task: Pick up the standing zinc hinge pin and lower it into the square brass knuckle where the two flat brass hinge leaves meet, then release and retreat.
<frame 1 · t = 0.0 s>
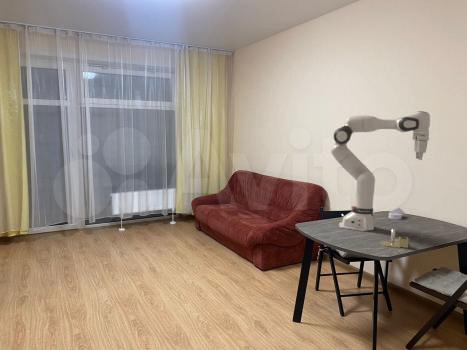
hand: (418, 159, 219), 48 cm above the table, fingers open, 8 cm apart
wedge on round base: (395, 217, 265), on the table
pin: (392, 242, 205), on the table
hinge leaves: (403, 246, 198), on the table
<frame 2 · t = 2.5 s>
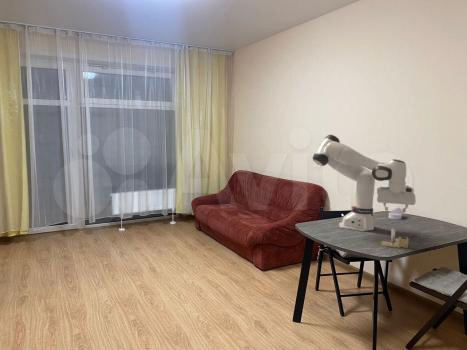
hand: (395, 211, 202), 19 cm above the table, fingers open, 8 cm apart
nothing on the table moved.
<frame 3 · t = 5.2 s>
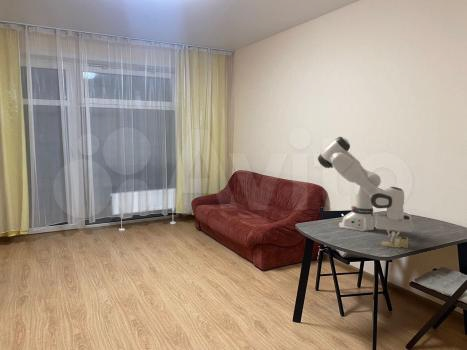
hand: (392, 237, 204), 3 cm above the table, fingers closed on pin, 2 cm apart
pin: (392, 242, 205), on the table, touching gripper
everything else where it was.
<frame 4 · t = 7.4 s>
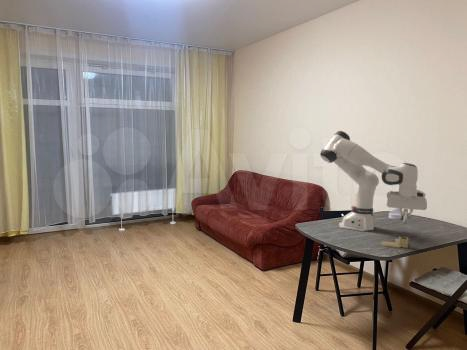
hand: (405, 216, 195), 18 cm above the table, fingers closed on pin
pin: (404, 223, 196), point 14 cm above the table, touching gripper
everything else where it was.
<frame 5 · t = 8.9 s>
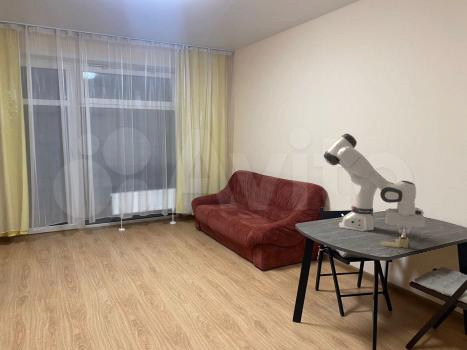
hand: (403, 233, 197), 8 cm above the table, fingers closed on pin
pin: (403, 240, 197), point 3 cm above the table, touching gripper
everything else where it was.
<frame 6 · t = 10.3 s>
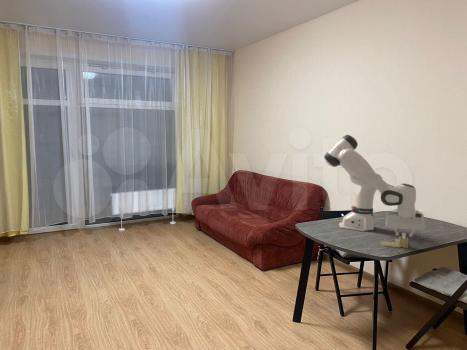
hand: (403, 236, 197), 6 cm above the table, fingers open, 5 cm apart
pin: (403, 246, 198), on the table
everything else where it was.
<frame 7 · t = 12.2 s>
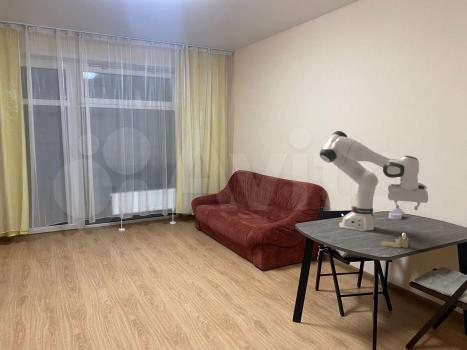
hand: (406, 209, 196), 22 cm above the table, fingers open, 8 cm apart
nothing on the table moved.
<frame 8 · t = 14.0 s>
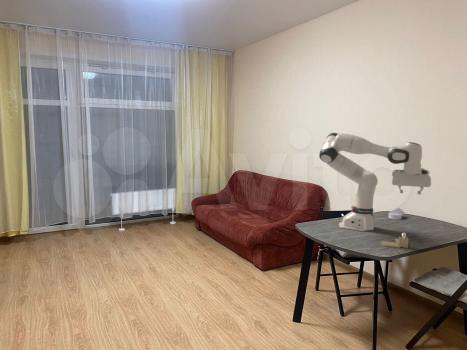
hand: (410, 193, 203), 29 cm above the table, fingers open, 8 cm apart
nothing on the table moved.
at the end: pin 0.1 cm off-centre on the hinge leaves, point 0.0 cm above the hinge leaves's base; pin tilted 0°; the gripper is holding nothing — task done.
